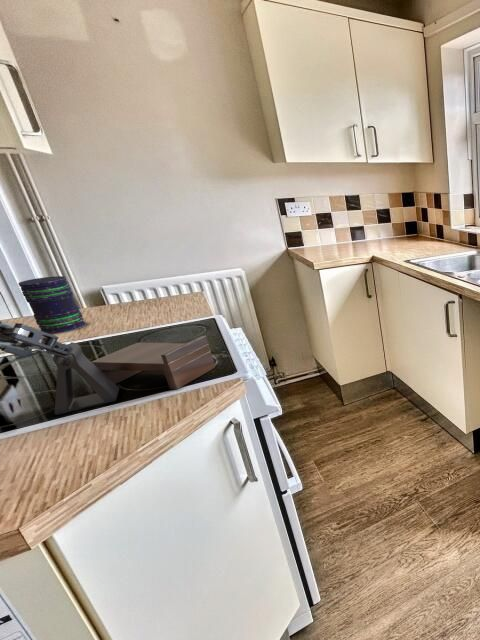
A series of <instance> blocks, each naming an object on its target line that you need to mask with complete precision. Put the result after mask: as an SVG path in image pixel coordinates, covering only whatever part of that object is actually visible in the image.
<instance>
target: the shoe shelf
mask: <svg viewBox="0 0 480 640" xmlns="http://www.w3.org/2000/svg"><path fill="white" fill-rule="evenodd" d="M91 362H92V363H93V364H94V365H95V366H96V367H97V368H98V369H99V370H100V371H102V372H103V373H104V374H105V375H106V376H107V377H108V378H109V379H110V380H111V381H112V382H113V383H115V384H116V385H117V384H119V383H121V382H122V381H124V380H127V379H129V378H131V377H133V376H134V375H137V374H139V373H141V372H163V375H164V377H165V379H166V382H167V386H168V388H169V389H170V390H179V389H180V388H182V387H184V386H186V385H187V384H189V383H191V382H192V381H194V380H196V379H198V378H200V377H201V376H203V375H205V374H207V373H208V372H210V371H212V370H213V369H215V368H216V363H215V360H214V357H213V354H212V351H211V347H210V345H209V341H208V338H207V336H206V335H201V336H198V337H197V338H194V339H192V340H190V341H187V342H185V343H183V342H182V343H181V342H180V343H178V342H135V343H133V344H130V345H127V346H126V347H123V348H120V349H119V350H116V351H113V352H112V353H109V354H106V355H105V356H102V357H99V358H97V359H95V360H92V361H91Z"/></svg>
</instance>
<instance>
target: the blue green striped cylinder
mask: <svg viewBox="0 0 480 640" xmlns="http://www.w3.org/2000/svg"><path fill="white" fill-rule="evenodd" d="M17 285H18V286H19V287H20V290H21V292H22V296H23V297H24V299H25V301H26V303H28V304H29V306H30V308H31V310H32V313H33V317H34V320H35V323H36V325H37V326H38V328H39V330H40V331H43V332H46V333H49V334H51V335H55V334H60V333H66V332H70V331H75V330H78V329H81V328H83V327H85V326H86V322H85V320H84V316H83V313H82V312H81V310H80V307H79V306H78V305H77V303H76V301H75V298H74V294H73V291H72V288H71V285H69V282H68V281H67V277H66V276H62V275H59V276H57V275H56V276H55V275H54V276H45V277H37V278H33V279H32V278H31V279H27V280H23V281H19V282H18V283H17Z"/></svg>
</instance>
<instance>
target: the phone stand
mask: <svg viewBox="0 0 480 640" xmlns="http://www.w3.org/2000/svg"><path fill="white" fill-rule="evenodd" d="M63 344H65V345H67V344H66V343H63ZM68 346H71V347H72V348H73V351H72V353H71V355H70V357H68V358H62V357H59V356H56V355H53V356H52V361H53V363H54V364H55V366H56V368H57V369H56V370H57V373H56V387H55V388H56V389H55V399H54V400H55V401H54V415H55V416H58V415H64V414H66V413H71V412H76V411H79V410H83V409H86V408H93V407H96V406H100V405H105V404H108V403H112V402H116V401H117V399H118V395H119V392H120V386H118V385H117V383H116V384H115V383H113V382H112V381H111V380H110V379H109V378H108V377H107V376H106V375H105V374H104V373H103V372H102V371H100V370H99V369H98V368H97V367H96V366H95V365H94V364H93V363H92V361H91V360H90V359H88V357H87V356H85V354H84V353H83V349H82V347H81V345H80V344H78V343H76V342H73V341H70V343H69V344H68ZM72 370H75V372H76V373H77V374H78V375H79V376H80V377H81V378H82V379H83V381H85V382H86V383H87V384H88V386H89V387H90V388H91V389H92V390H93V391H94V392H95V393H92V394H88V395H87V394H86V395H83V396H78V397H74V391H73V389H74V388H73V372H72Z"/></svg>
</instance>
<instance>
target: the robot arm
mask: <svg viewBox="0 0 480 640" xmlns="http://www.w3.org/2000/svg"><path fill="white" fill-rule="evenodd" d="M58 340H59V336H57V335H56V334H49V333H46V332H43V331H41V329H37V328H35V327H32V326H29V325H26V324H24V323H19V322H18V323H17V322H15V324H14V325H13V324H12V323H10V322H7V321H1V320H0V351H1V352H4V353H7V354H11V355H13V356H17V357H20V358H28V357H29V356H30V355H31V353H32V351H33V350H35V351H39V352H43V353H47V354H51V355H53V356H54V355H56V356H59V357H62V358H68V357H70V356H71V353H72V351H73V348H72V347H71V346H69V344H66V343H65V344H66V345H65V344H64V343H62V342H60V341H58Z"/></svg>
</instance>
